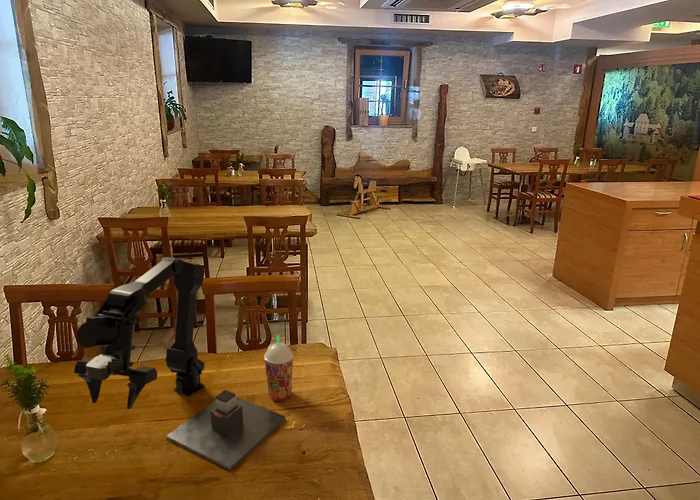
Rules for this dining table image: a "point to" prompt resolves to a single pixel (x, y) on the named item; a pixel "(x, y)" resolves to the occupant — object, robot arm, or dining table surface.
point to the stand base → (226, 432)
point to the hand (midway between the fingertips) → (111, 405)
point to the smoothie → (279, 371)
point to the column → (225, 402)
